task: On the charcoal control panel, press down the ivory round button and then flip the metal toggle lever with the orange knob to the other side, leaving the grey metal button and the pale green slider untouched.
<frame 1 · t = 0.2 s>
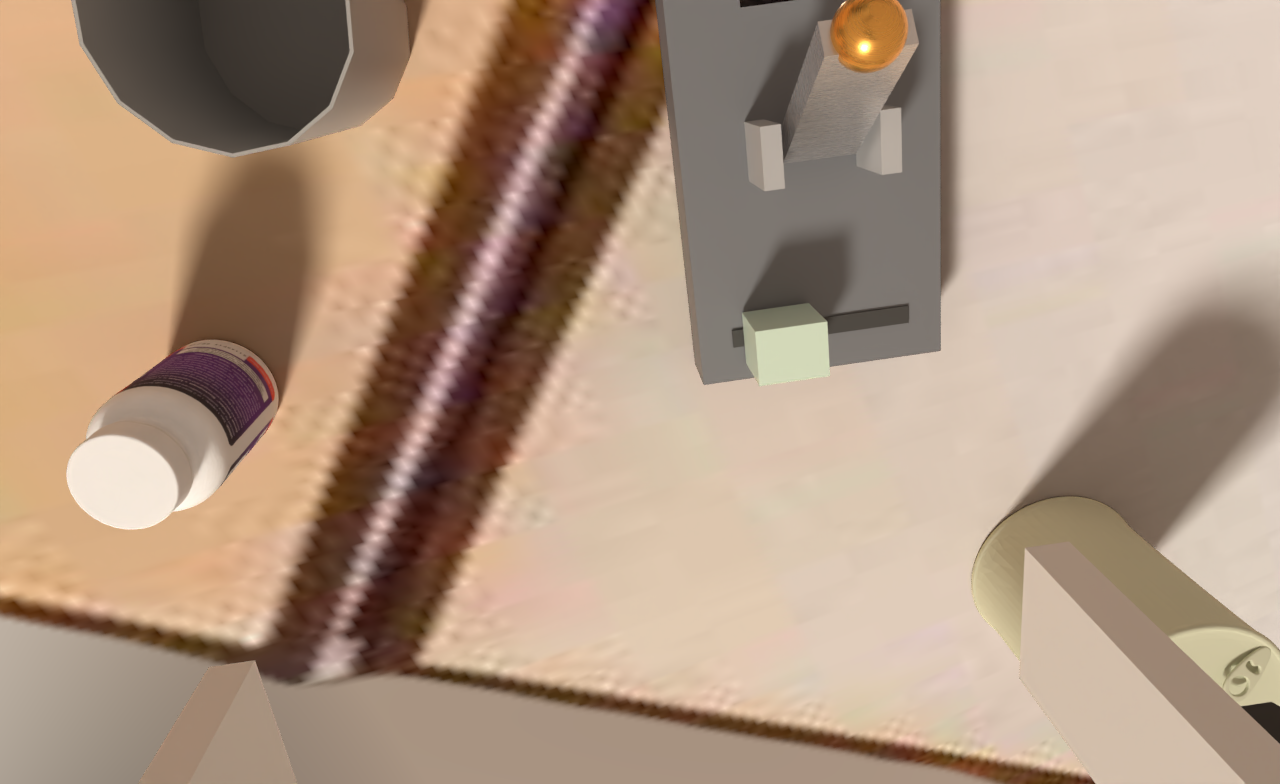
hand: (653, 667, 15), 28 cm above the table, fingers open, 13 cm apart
cup: (309, 29, 36), on the table
slider: (784, 343, 37), point 5 cm above the table, slide at -2.0 cm
lever: (843, 87, 30), point 8 cm above the table, hinge at -30.0°
can: (1049, 567, 48), on the table
pill bottle: (224, 389, 41), on the table
panel: (786, 17, 37), on the table
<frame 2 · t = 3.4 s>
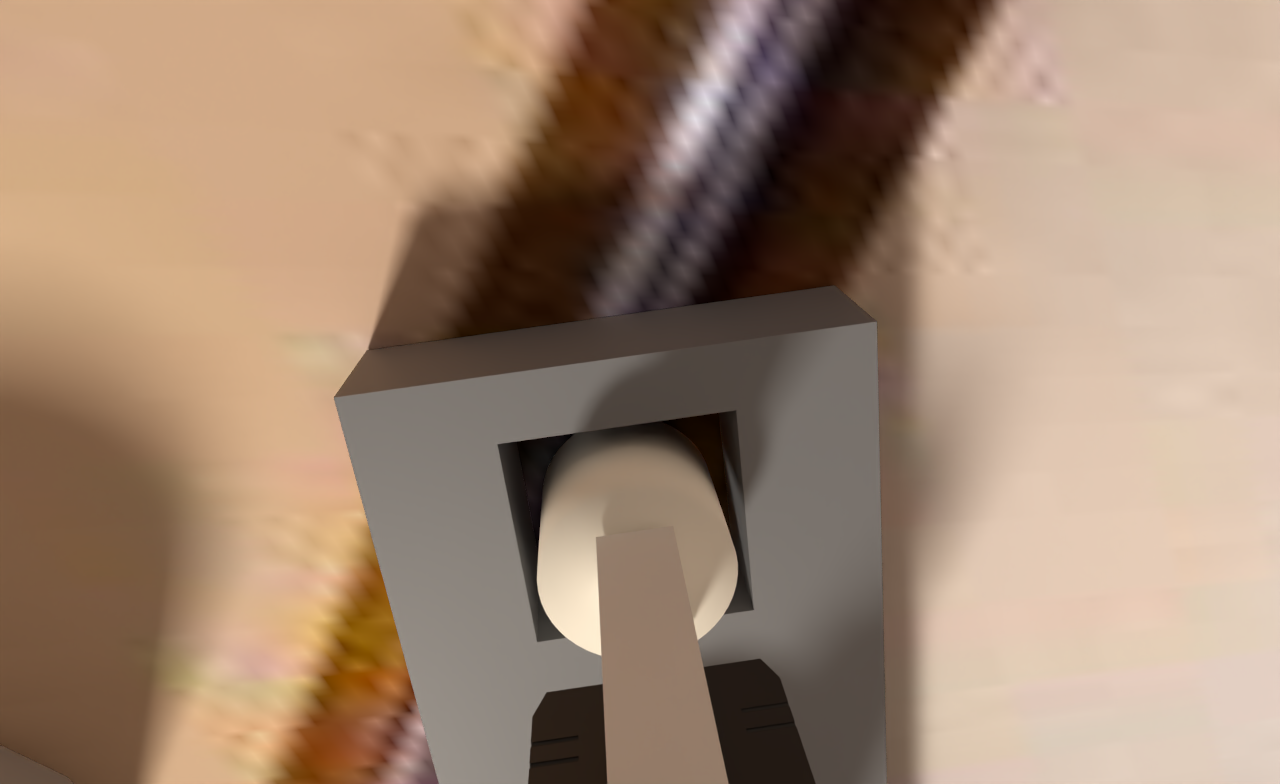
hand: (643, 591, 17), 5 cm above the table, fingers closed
ivory button: (632, 532, 19), point 3 cm above the table, slide at -0.7 cm, touching gripper
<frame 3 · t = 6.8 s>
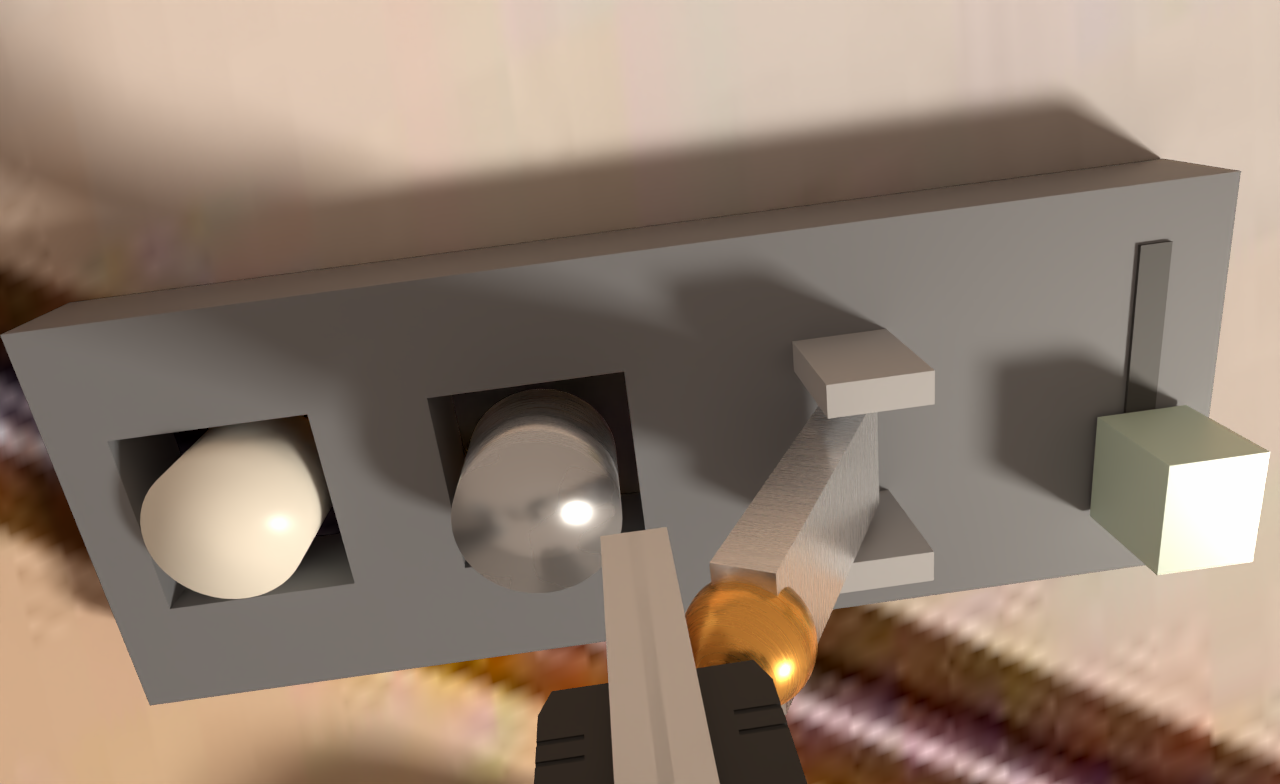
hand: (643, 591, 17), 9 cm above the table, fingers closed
ivory button: (248, 498, 23), point 2 cm above the table, slide at -1.7 cm
slider: (1172, 486, 22), point 5 cm above the table, slide at -2.0 cm
lever: (802, 541, 18), point 8 cm above the table, hinge at -29.9°, touching gripper
grey button: (540, 486, 22), point 4 cm above the table, slide at 0.0 cm
panel: (646, 414, 25), on the table
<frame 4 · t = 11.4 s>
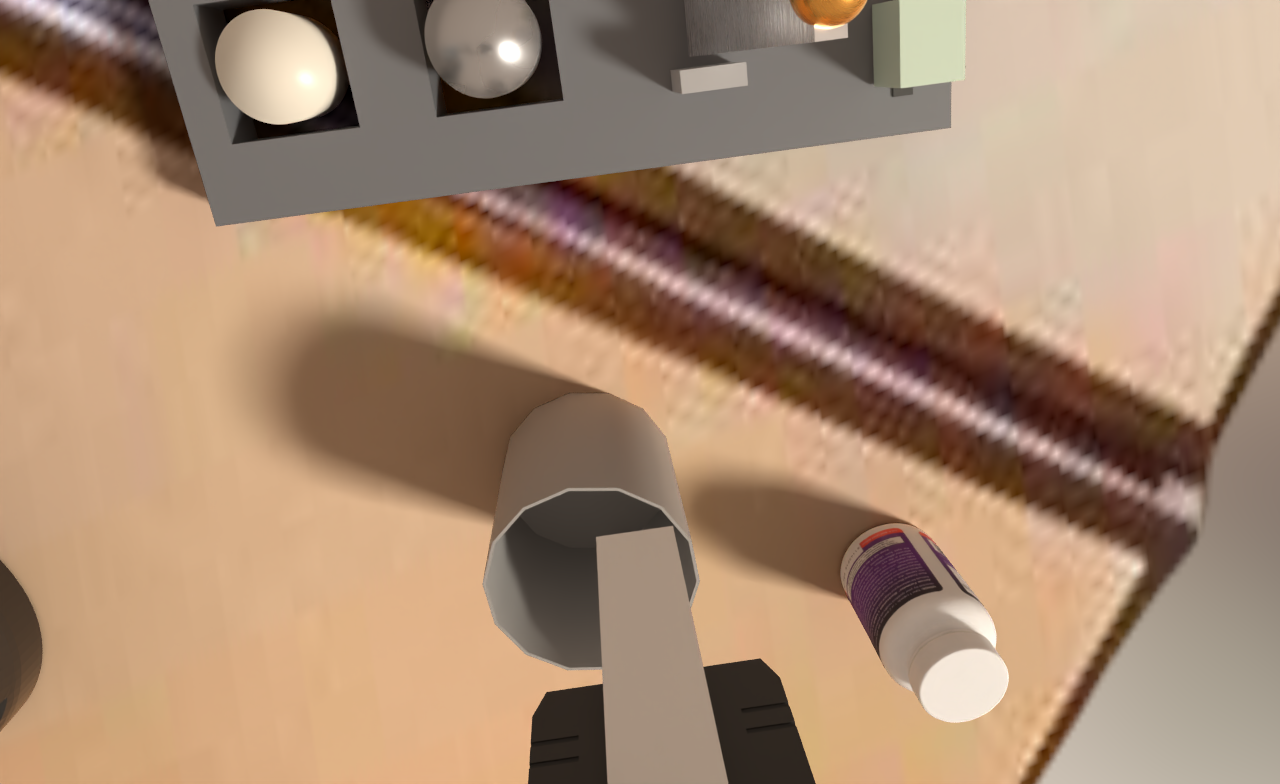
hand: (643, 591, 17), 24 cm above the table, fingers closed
cup: (588, 468, 43), on the table
ivory button: (286, 67, 34), point 2 cm above the table, slide at -1.7 cm
slider: (917, 41, 32), point 5 cm above the table, slide at -2.0 cm
grey button: (486, 40, 32), point 4 cm above the table, slide at 0.0 cm
pill bottle: (886, 562, 46), on the table
panel: (567, 33, 36), on the table
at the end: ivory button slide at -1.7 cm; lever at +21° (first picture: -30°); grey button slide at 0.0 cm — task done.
